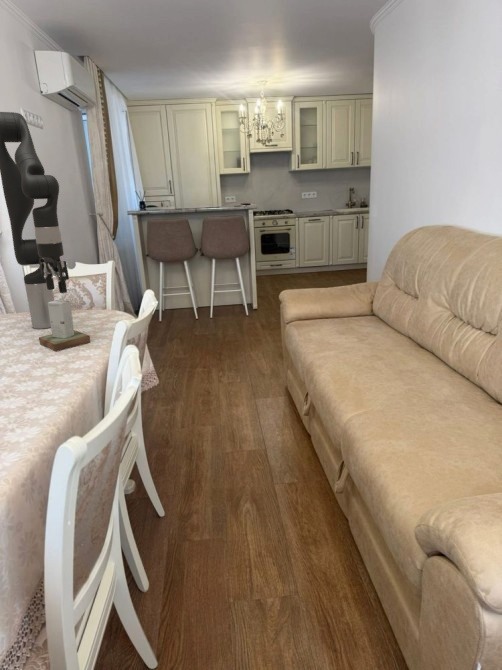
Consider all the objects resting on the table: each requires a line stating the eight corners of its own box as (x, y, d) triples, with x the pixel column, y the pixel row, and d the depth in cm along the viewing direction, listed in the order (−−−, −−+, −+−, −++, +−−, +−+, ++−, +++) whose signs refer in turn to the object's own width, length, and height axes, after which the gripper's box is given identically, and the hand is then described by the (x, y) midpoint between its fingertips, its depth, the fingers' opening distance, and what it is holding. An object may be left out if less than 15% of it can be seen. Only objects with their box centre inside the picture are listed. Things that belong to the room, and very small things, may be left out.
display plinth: (39, 344, 152) (38, 337, 151) (73, 335, 161) (72, 329, 160) (56, 351, 144) (55, 344, 144) (90, 342, 153) (89, 335, 152)
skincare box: (51, 337, 150) (45, 302, 147) (61, 333, 155) (55, 299, 151) (66, 338, 149) (61, 303, 145) (75, 334, 153) (70, 300, 149)
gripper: (27, 241, 144) (36, 290, 149) (47, 243, 135) (56, 296, 140) (50, 239, 149) (57, 286, 154) (71, 241, 140) (78, 291, 145)
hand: (57, 291), depth 147 cm, fingers open, 8 cm apart
